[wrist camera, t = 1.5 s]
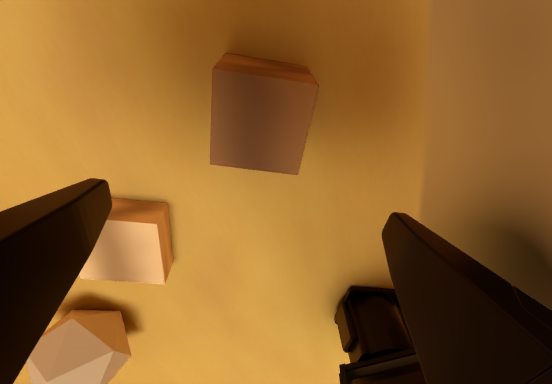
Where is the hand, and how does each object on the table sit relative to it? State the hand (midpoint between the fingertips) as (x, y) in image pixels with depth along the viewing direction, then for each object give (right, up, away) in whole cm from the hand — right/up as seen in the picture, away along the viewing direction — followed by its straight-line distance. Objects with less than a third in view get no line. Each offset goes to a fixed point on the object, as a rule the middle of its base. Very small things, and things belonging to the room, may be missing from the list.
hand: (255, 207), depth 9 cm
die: (-19, -14, +23) cm, 33 cm away
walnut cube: (0, +7, +10) cm, 12 cm away
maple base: (-12, -3, +16) cm, 20 cm away
